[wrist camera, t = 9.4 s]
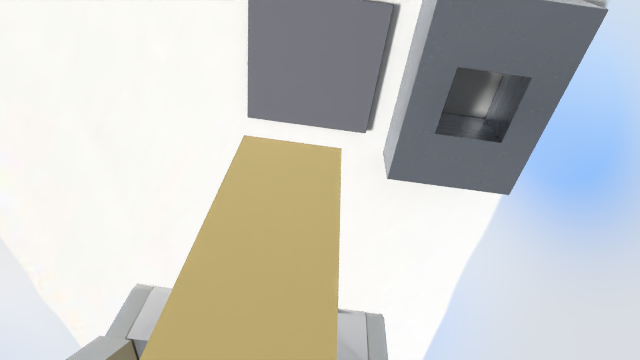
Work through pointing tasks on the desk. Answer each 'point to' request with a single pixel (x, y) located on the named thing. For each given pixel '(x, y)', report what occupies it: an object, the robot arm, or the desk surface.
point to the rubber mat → (315, 60)
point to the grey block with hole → (511, 96)
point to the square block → (261, 262)
